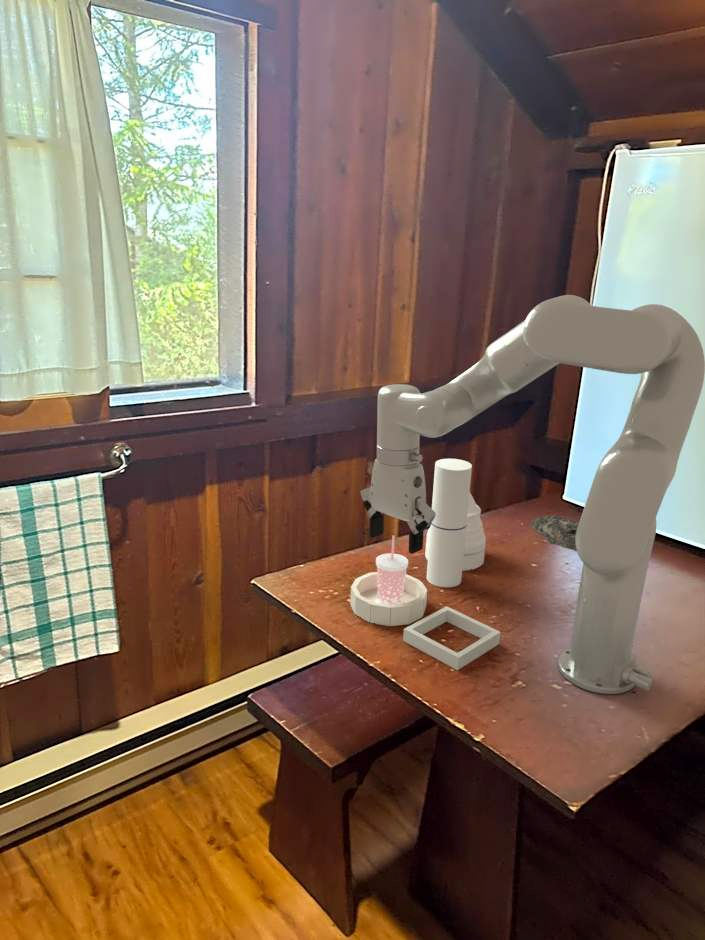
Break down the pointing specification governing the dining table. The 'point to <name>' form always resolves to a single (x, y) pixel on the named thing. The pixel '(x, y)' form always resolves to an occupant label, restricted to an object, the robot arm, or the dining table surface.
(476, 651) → the open square frame
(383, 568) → the beverage cup
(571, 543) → the geode
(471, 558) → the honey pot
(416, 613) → the bowl
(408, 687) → the dining table surface
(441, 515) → the cylindrical container
